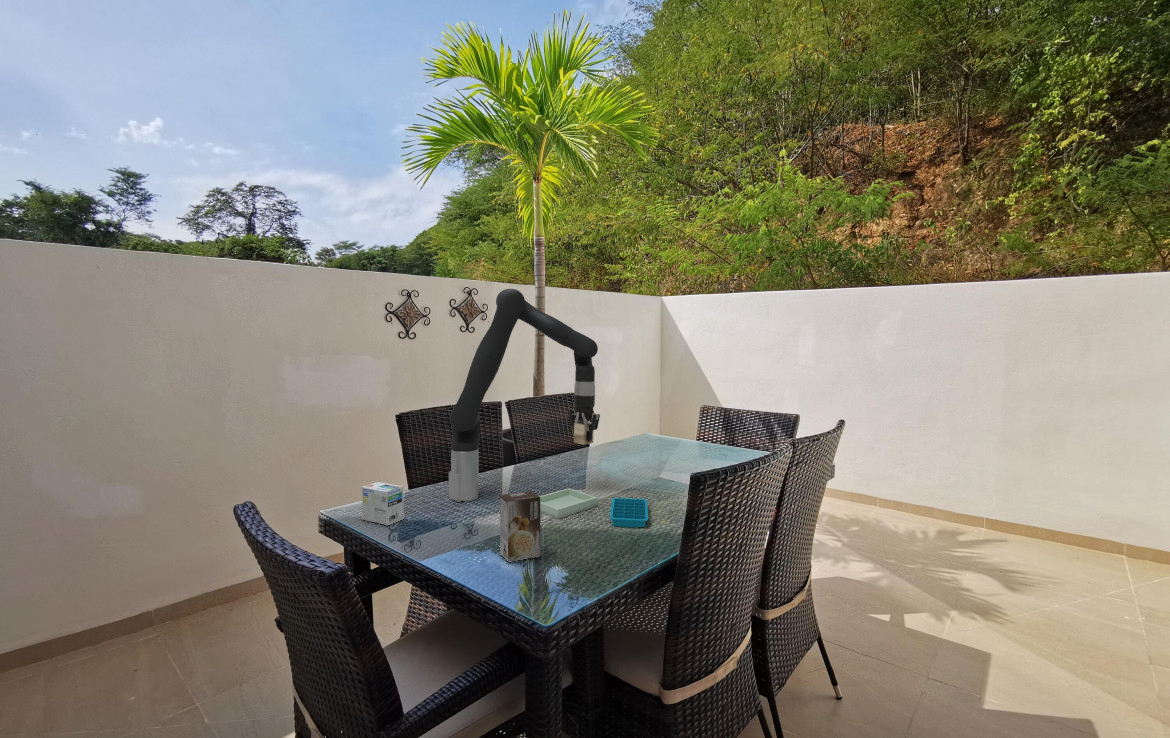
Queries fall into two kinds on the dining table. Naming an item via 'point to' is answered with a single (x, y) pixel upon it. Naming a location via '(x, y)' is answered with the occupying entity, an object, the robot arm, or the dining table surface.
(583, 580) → the dining table surface
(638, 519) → the ice cube tray
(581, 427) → the birch block
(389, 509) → the light bulb box
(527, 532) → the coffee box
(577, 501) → the tray
